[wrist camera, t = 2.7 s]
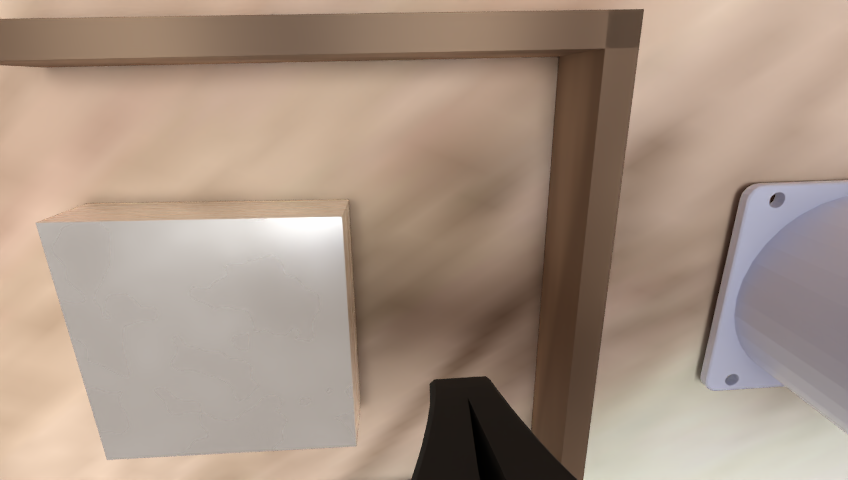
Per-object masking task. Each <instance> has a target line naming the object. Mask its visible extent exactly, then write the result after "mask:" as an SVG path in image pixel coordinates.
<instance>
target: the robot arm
mask: <svg viewBox="0 0 848 480" xmlns="http://www.w3.org/2000/svg"><path fill="white" fill-rule="evenodd" d="M774 194H775V198H774V200H773V201H772V202H771V203H770V201H769V200H770V198H771V196H773V195H774ZM729 375H730V376H729ZM728 376H729V377H728ZM700 380H701V381H702V383H703V384H704V385H705V386H706V387H707V388H708V389H710V390H714V391H718V390H734V389H749V388H765V387H780V386H786V387H787V388H788V389H790V390H791V391H792V392H793V393H795V394H796V395H797V396H799V397H800V398H801V399H803V400H804V401H805V402H806V403H808V404H809V405H810V406H812V407H813V408H814V409H816V410H817V411H818V412H820V413H821V414H822V415H823V416H825V417H826V418H827V419H829V420H830V421H831V422H833V423H834V424H835V425H836V426H838V427H839V428H840V429H842V430H843V431H844V432H846V433H847V434H848V180H832V181H806V182H779V183H757V184H753V185H751V186H749V187H748V188H746V189H745V191H744V192H743V193H742V195H741V198H740V201H739V205H738V210H737V214H736V219H735V223H734V228H733V232H732V237H731V241H730V246H729V250H728V255H727V259H726V264H725V268H724V273H723V277H722V282H721V286H720V290H719V295H718V299H717V304H716V308H715V313H714V317H713V322H712V326H711V331H710V335H709V340H708V344H707V349H706V353H705V358H704V362H703V367H702V371H701V376H700ZM411 480H577V479H576V478H575V477H574V476H573V475H572V474H571V473H570V472H569V471H568V470H567V469H566V468H565V467H564V466H563V465H562V464H561V463H560V462H559V461H558V460H557V459H556V458H555V457H554V456H553V455H552V453H551V452H550V451H549V450H548V449H547V448H546V447H545V446H544V445H543V444H542V443H541V442H540V440H539V439H538V438H537V437H536V436H535V435H534V434H533V433H532V431H531V430H530V429H529V428H528V427H527V426H526V425H525V424H524V422H523V421H522V420H521V419H520V418H519V416H518V415H517V414H516V413H515V412H514V410H513V409H512V408H511V407H510V405H509V404H508V403H507V402H506V400H505V399H504V398H503V396H502V395H501V394H500V392H499V391H498V390H497V388H496V387H495V386H494V384H493V383H492V382H491V380H490V379H489V378H487V377H486V376H483V377H467V378H452V379H436V380H434V381H433V382H431V383H430V408H429V415H428V421H427V426H426V430H425V434H424V438H423V443H422V447H421V450H420V454H419V457H418V460H417V463H416V467H415V470H414V473H413V476H412V479H411Z"/></svg>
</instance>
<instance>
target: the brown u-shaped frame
mask: <svg viewBox="0 0 848 480" xmlns="http://www.w3.org/2000/svg"><path fill="white" fill-rule="evenodd" d="M643 12H644V9H630V10H564V11H497V12H431V13H364V14H298V15H231V16H164V17H98V18H31V19H0V65H9V66H29V67H78V66H126V65H174V64H222V63H270V62H319V61H367V60H415V59H463V58H511V57H559V65H558V79H557V92H556V106H555V119H554V133H553V146H552V160H551V173H550V187H549V200H548V214H547V227H546V241H545V254H544V268H543V281H542V295H541V308H540V322H539V335H538V349H537V362H536V376H535V389H534V403H533V416H532V430H531V431H532V433H533V434H534V435H535V436H536V437H537V438H538V439H539V440H540V442H541V443H542V444H543V445H544V446H545V447H546V448H547V449H548V450H549V451H550V452H551V453H552V455H553V456H554V457H555V458H556V459H557V460H558V461H559V462H560V463H561V464H562V465H563V466H564V467H565V468H566V469H567V470H568V471H569V472H570V473H571V474H572V475H573V476H574V477H575V478H576V479H577V480H583V476H584V468H585V461H586V453H587V445H588V437H589V430H590V422H591V414H592V407H593V399H594V391H595V383H596V376H597V368H598V360H599V352H600V345H601V337H602V329H603V321H604V314H605V306H606V298H607V291H608V283H609V275H610V267H611V260H612V252H613V244H614V236H615V229H616V221H617V213H618V205H619V198H620V190H621V182H622V175H623V167H624V159H625V151H626V144H627V136H628V128H629V120H630V113H631V105H632V97H633V89H634V82H635V74H636V66H637V59H638V51H639V43H640V35H641V28H642V20H643Z"/></svg>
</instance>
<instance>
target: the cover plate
mask: <svg viewBox="0 0 848 480" xmlns="http://www.w3.org/2000/svg"><path fill="white" fill-rule="evenodd" d="M36 226H37V229H38V232H39V236H40V239H41V242H42V246H43V249H44V252H45V255H46V259H47V262H48V265H49V269H50V272H51V275H52V279H53V282H54V285H55V289H56V292H57V295H58V299H59V302H60V305H61V309H62V312H63V315H64V319H65V322H66V325H67V328H68V332H69V335H70V338H71V342H72V345H73V348H74V352H75V355H76V358H77V362H78V365H79V368H80V372H81V375H82V378H83V382H84V385H85V388H86V392H87V395H88V398H89V401H90V405H91V408H92V411H93V415H94V418H95V421H96V425H97V428H98V431H99V435H100V438H101V441H102V445H103V448H104V451H105V455H106V458H107V460H113V459H131V458H150V457H168V456H186V455H205V454H223V453H241V452H260V451H278V450H296V449H315V448H333V447H352V446H357V436H358V425H359V415H360V387H359V370H358V353H357V335H356V318H355V301H354V284H353V267H352V250H351V232H350V215H349V199H335V200H270V201H206V202H142V203H86V204H84V205H81V206H79V207H76V208H73V209H71V210H68V211H65V212H63V213H60V214H57V215H55V216H52V217H49V218H47V219H44V220H42V221H39V222H36Z"/></svg>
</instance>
